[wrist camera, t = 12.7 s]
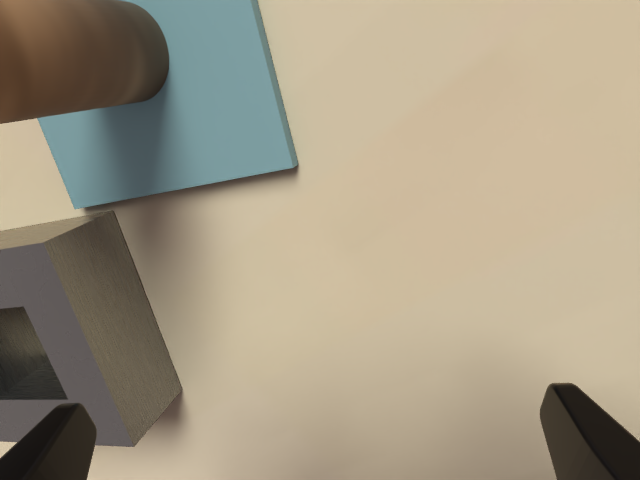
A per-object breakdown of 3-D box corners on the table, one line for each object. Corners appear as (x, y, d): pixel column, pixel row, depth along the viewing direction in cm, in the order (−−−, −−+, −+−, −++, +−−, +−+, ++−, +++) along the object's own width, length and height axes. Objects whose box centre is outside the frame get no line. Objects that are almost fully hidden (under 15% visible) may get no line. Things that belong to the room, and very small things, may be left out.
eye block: (182, 389, 25) (134, 446, 21) (44, 391, 28) (-18, 440, 24) (113, 210, 22) (43, 242, 18) (-33, 237, 25) (-116, 268, 21)
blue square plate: (298, 164, 18) (293, 167, 18) (84, 205, 22) (74, 209, 21) (213, -172, 15) (204, -181, 14) (-22, -56, 19) (-36, -59, 18)
